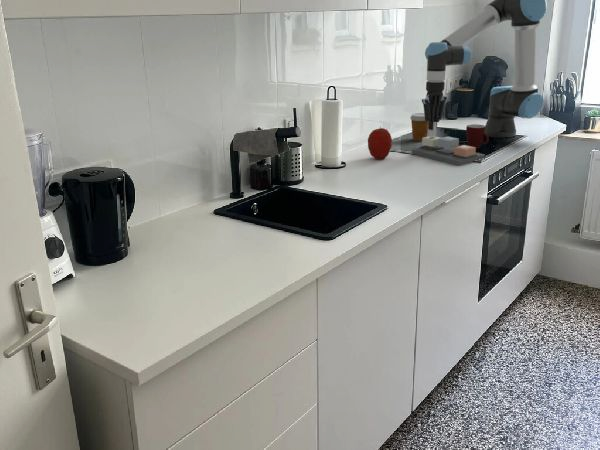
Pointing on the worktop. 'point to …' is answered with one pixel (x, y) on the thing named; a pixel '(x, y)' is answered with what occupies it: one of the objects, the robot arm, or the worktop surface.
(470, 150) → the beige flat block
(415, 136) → the disposable coffee cup
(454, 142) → the key slate
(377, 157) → the apple
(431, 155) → the keypad base
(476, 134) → the mug
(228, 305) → the worktop surface
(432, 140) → the key cream
